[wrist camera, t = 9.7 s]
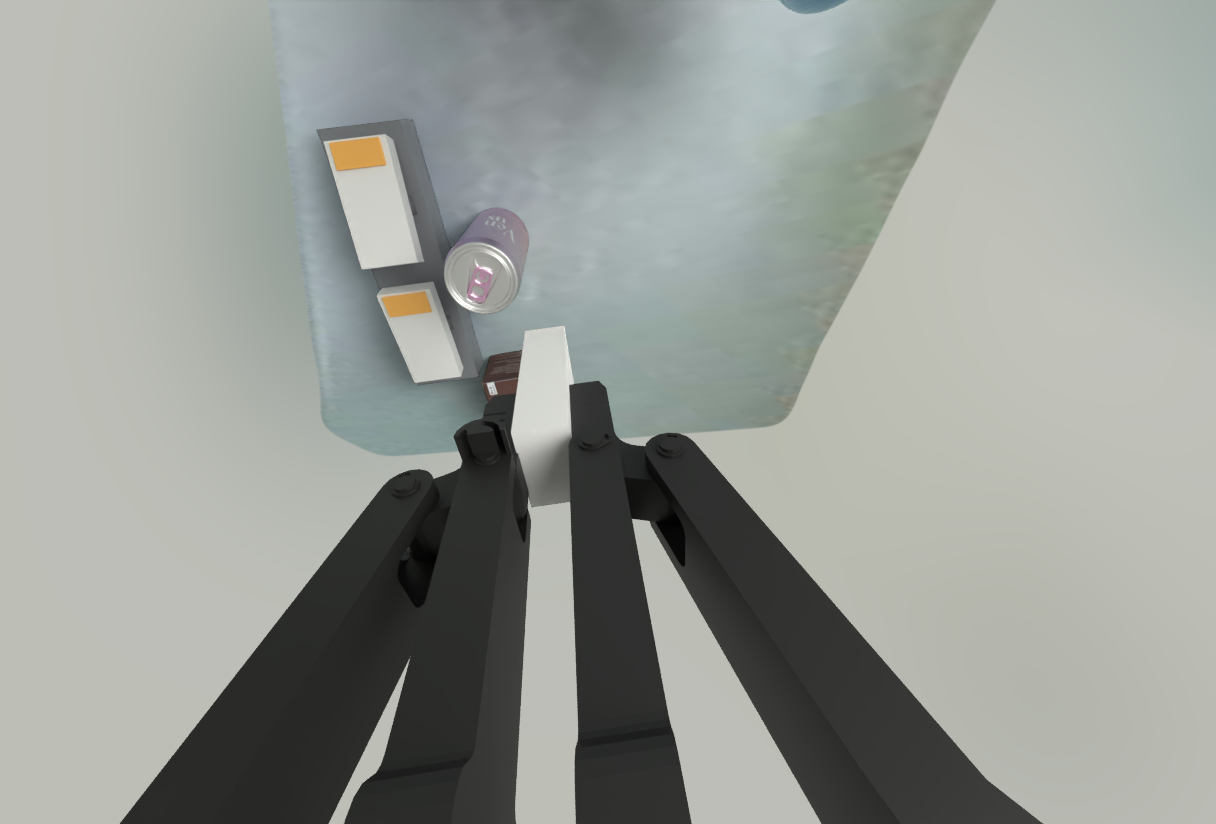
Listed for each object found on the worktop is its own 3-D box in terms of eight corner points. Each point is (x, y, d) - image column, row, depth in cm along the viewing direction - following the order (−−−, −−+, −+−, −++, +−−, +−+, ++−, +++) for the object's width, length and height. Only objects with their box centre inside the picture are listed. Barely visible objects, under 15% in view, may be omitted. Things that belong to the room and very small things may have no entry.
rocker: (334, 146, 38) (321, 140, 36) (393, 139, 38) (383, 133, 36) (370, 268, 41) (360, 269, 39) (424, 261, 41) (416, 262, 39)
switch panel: (336, 128, 40) (312, 130, 36) (412, 119, 40) (397, 119, 37) (426, 368, 54) (416, 388, 50) (483, 361, 54) (477, 380, 51)
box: (547, 388, 58) (546, 419, 52) (502, 395, 58) (495, 428, 51) (537, 345, 54) (535, 374, 48) (489, 353, 54) (480, 383, 48)
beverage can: (465, 252, 47) (433, 300, 35) (480, 196, 44) (451, 226, 32) (518, 274, 49) (506, 327, 37) (537, 221, 46) (530, 259, 34)
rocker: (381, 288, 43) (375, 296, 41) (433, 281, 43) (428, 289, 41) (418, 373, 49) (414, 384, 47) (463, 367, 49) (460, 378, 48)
